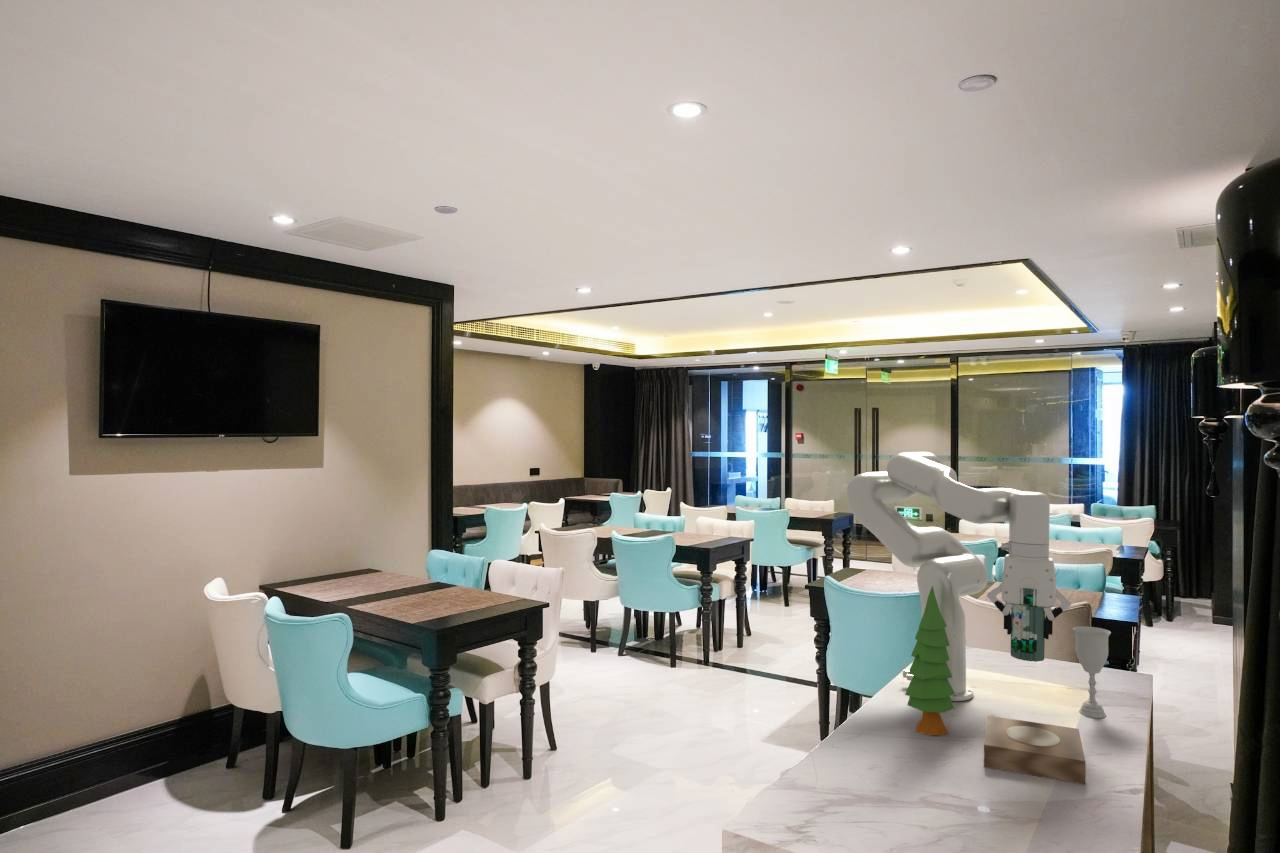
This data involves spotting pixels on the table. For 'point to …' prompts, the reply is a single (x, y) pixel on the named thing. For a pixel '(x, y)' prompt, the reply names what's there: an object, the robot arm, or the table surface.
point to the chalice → (1091, 662)
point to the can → (1027, 629)
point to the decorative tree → (931, 671)
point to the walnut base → (1034, 749)
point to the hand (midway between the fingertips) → (1027, 634)
